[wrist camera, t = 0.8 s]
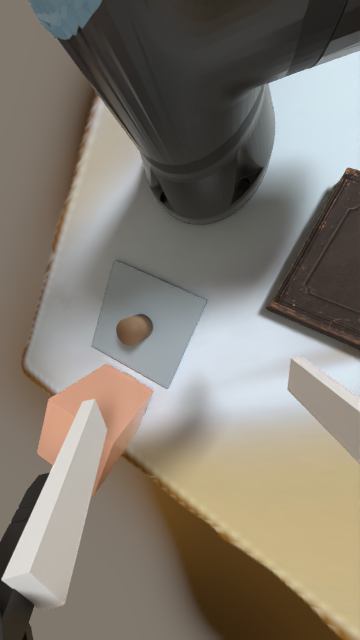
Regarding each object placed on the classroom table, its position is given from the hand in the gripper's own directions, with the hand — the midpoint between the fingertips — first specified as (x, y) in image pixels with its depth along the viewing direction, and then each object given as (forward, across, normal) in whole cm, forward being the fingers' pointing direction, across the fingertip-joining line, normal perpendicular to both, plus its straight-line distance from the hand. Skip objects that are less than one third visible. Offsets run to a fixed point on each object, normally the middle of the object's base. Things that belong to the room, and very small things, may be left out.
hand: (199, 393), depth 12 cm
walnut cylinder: (+19, -5, -2) cm, 19 cm away
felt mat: (+19, -5, -2) cm, 20 cm away
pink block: (+18, -12, -15) cm, 27 cm away
